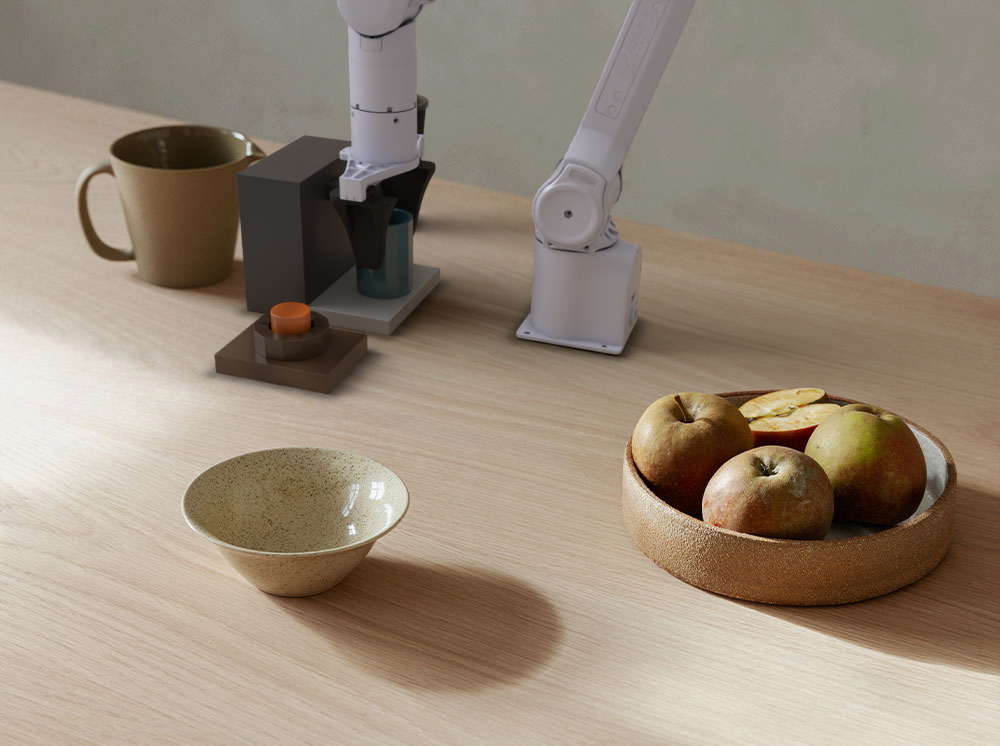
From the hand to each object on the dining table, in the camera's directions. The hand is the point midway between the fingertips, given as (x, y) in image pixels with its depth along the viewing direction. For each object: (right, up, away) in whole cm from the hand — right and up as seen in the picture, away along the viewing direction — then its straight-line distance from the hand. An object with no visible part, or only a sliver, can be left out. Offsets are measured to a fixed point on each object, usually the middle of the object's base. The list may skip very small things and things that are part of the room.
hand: (386, 252), depth 101 cm
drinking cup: (-1, +5, +21) cm, 22 cm away
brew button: (-7, -7, -10) cm, 14 cm away
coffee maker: (-4, -4, +3) cm, 6 cm away
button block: (-7, -10, -9) cm, 15 cm away
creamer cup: (0, -3, +2) cm, 4 cm away
